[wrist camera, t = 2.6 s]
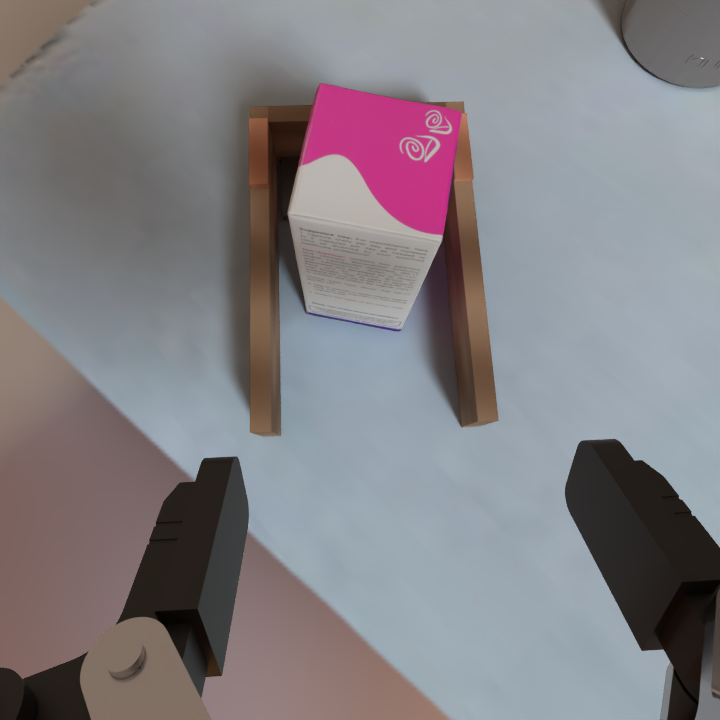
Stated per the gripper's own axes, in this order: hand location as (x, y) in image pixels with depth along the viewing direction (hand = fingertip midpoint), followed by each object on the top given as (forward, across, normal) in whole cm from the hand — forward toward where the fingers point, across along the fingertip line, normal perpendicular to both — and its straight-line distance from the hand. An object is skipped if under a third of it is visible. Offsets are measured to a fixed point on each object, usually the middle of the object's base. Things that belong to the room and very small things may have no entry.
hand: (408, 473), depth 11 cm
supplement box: (+18, 0, +3) cm, 19 cm away
